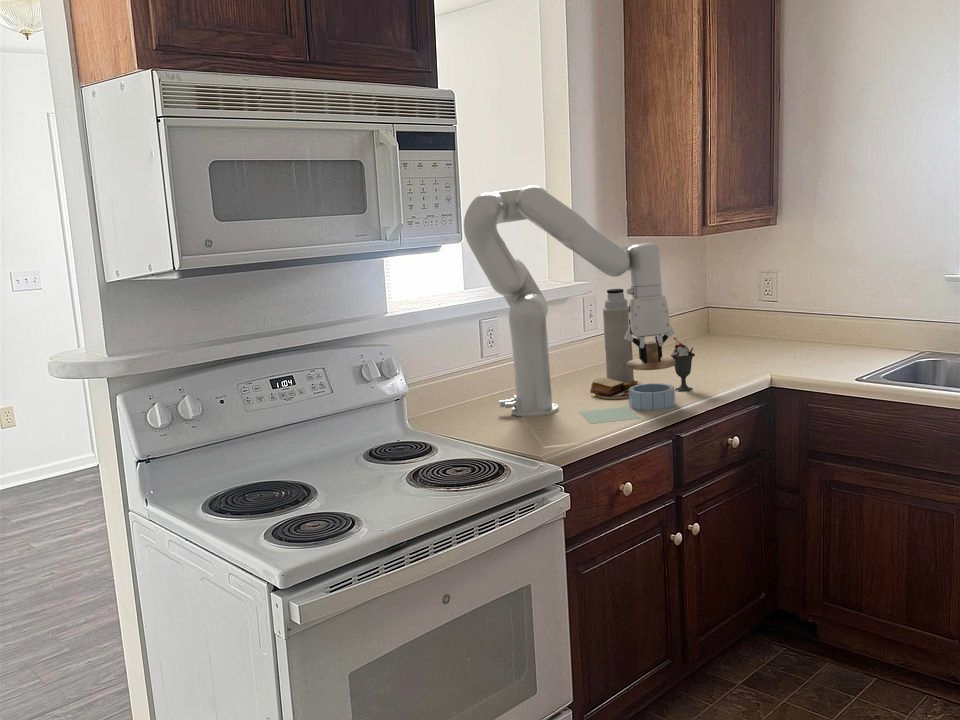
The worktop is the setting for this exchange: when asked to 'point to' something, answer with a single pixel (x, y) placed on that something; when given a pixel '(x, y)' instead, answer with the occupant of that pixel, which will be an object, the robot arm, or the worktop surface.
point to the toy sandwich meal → (611, 388)
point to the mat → (609, 415)
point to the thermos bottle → (617, 337)
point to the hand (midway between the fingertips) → (651, 360)
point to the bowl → (651, 396)
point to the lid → (651, 359)
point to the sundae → (682, 364)
